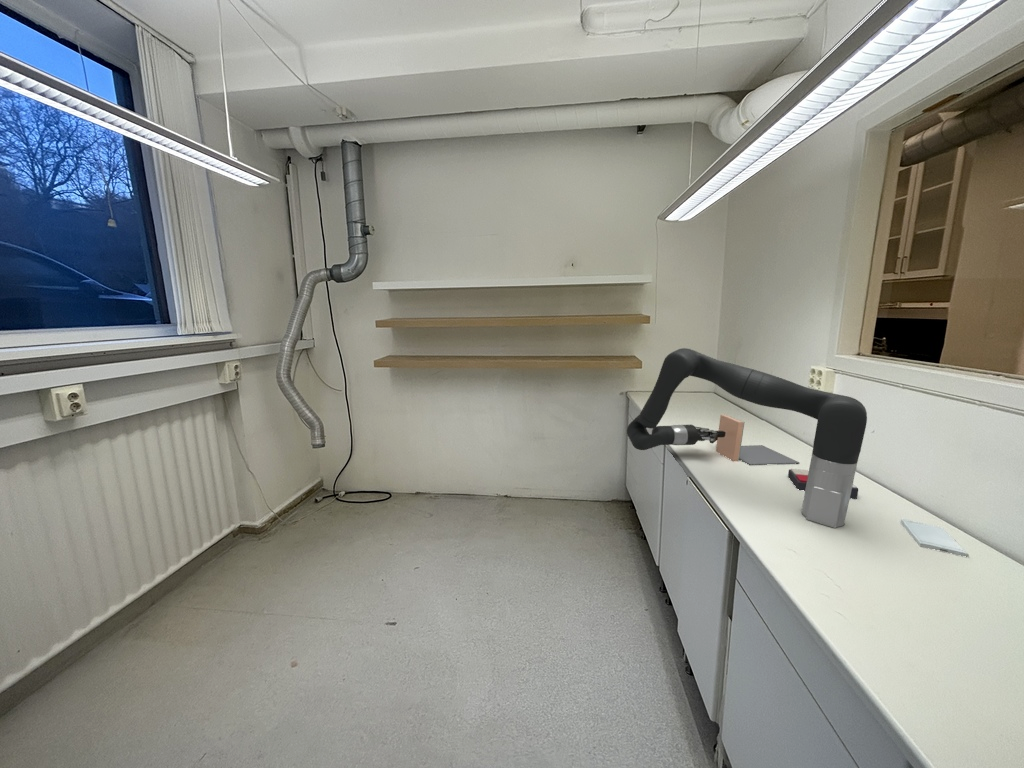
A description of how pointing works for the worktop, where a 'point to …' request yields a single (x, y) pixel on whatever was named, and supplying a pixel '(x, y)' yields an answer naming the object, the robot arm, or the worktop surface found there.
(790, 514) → the worktop surface
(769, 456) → the mat
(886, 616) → the worktop surface
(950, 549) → the hard drive
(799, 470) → the calculator
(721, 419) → the tile
